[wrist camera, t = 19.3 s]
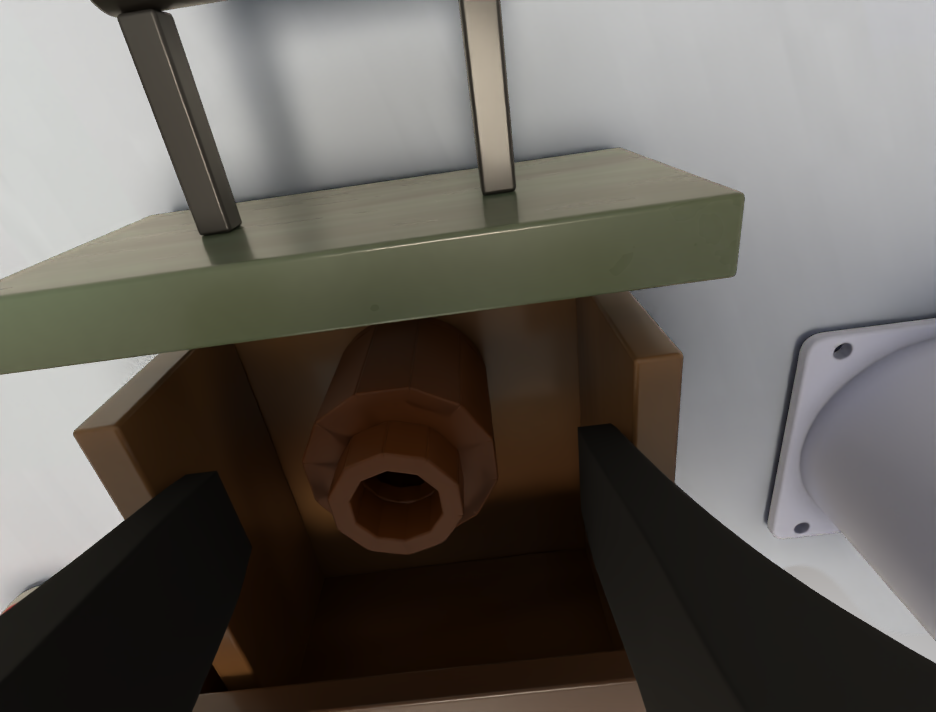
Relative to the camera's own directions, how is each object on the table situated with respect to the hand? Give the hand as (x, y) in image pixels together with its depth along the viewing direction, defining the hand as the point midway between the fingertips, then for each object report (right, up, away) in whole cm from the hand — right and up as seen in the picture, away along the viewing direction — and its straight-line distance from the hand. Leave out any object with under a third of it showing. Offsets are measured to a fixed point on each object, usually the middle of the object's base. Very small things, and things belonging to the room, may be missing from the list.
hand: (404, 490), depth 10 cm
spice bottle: (0, +2, +3) cm, 4 cm away
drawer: (0, +3, +4) cm, 5 cm away
